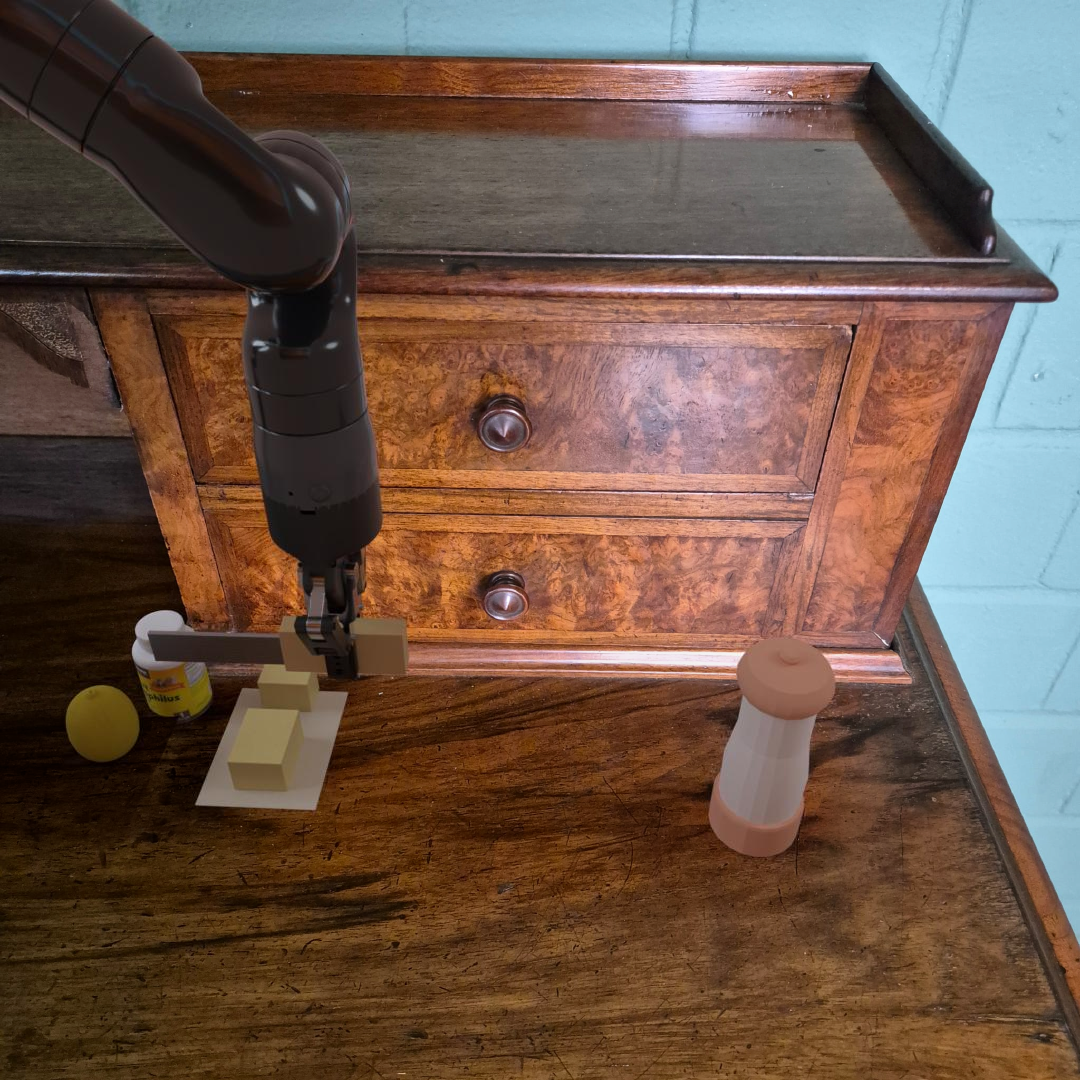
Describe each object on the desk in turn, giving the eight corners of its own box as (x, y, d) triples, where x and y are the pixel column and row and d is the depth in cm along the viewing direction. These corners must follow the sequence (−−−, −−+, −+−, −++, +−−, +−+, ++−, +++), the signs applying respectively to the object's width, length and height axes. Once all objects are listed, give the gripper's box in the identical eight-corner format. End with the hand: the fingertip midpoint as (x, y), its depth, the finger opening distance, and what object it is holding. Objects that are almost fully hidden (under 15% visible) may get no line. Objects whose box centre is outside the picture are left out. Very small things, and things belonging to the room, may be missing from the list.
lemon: (69, 756, 83) (42, 692, 78) (129, 722, 86) (106, 658, 81) (100, 792, 80) (73, 726, 75) (160, 755, 83) (138, 690, 78)
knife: (152, 667, 71) (139, 627, 68) (160, 651, 72) (148, 611, 70) (406, 675, 71) (402, 635, 68) (409, 658, 72) (405, 618, 70)
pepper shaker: (726, 864, 75) (764, 693, 64) (696, 791, 81) (725, 622, 69) (812, 849, 76) (863, 678, 65) (776, 778, 82) (817, 610, 71)
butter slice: (263, 710, 87) (256, 682, 84) (271, 686, 89) (266, 659, 87) (312, 712, 86) (307, 684, 84) (319, 688, 89) (314, 661, 87)
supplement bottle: (138, 719, 86) (110, 636, 80) (178, 679, 91) (153, 597, 84) (189, 737, 85) (164, 653, 79) (227, 695, 89) (206, 612, 83)
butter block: (233, 789, 79) (226, 761, 77) (254, 735, 84) (247, 707, 82) (287, 791, 79) (281, 764, 77) (304, 737, 84) (299, 709, 82)
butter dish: (196, 811, 78) (194, 804, 78) (243, 693, 89) (242, 687, 89) (316, 816, 78) (315, 809, 78) (349, 697, 89) (348, 691, 88)
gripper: (286, 416, 67) (316, 604, 77) (230, 531, 56) (274, 732, 66) (392, 419, 67) (408, 607, 77) (358, 534, 56) (382, 735, 66)
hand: (346, 664), depth 71 cm, fingers closed on knife, 2 cm apart
